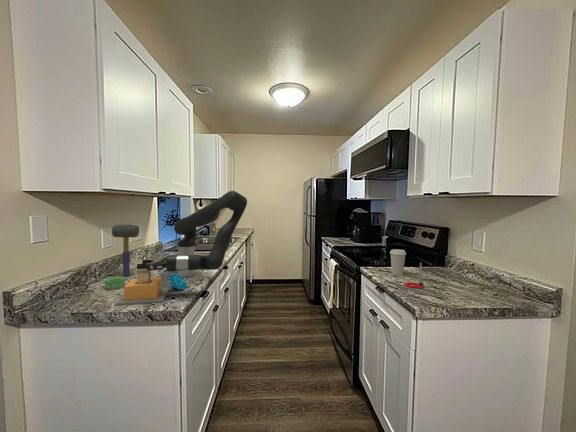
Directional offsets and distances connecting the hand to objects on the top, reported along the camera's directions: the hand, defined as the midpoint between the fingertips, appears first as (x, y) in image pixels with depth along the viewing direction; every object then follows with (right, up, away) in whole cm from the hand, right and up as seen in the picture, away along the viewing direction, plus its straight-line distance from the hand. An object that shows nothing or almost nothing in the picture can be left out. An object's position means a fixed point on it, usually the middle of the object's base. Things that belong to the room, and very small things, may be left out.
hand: (139, 264), depth 124 cm
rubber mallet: (-27, -13, +35) cm, 46 cm away
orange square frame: (+1, -15, +1) cm, 15 cm away
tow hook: (+134, -16, +24) cm, 137 cm away
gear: (+12, -15, +14) cm, 24 cm away
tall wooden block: (+2, -14, +1) cm, 14 cm away
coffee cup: (+135, -15, +49) cm, 144 cm away
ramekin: (-21, -14, +15) cm, 29 cm away
